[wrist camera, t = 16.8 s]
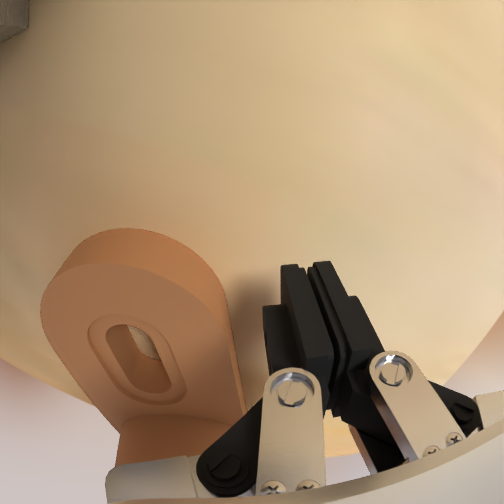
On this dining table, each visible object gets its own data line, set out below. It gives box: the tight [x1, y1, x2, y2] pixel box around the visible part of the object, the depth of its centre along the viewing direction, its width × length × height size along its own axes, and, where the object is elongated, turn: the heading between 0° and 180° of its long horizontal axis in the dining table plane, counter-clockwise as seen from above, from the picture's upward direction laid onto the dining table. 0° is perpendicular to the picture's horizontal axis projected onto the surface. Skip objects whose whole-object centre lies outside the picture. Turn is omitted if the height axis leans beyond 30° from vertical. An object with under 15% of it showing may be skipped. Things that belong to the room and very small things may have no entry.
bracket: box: [40, 228, 247, 466], centre depth 13 cm, size 18×8×7 cm, turn 5°
